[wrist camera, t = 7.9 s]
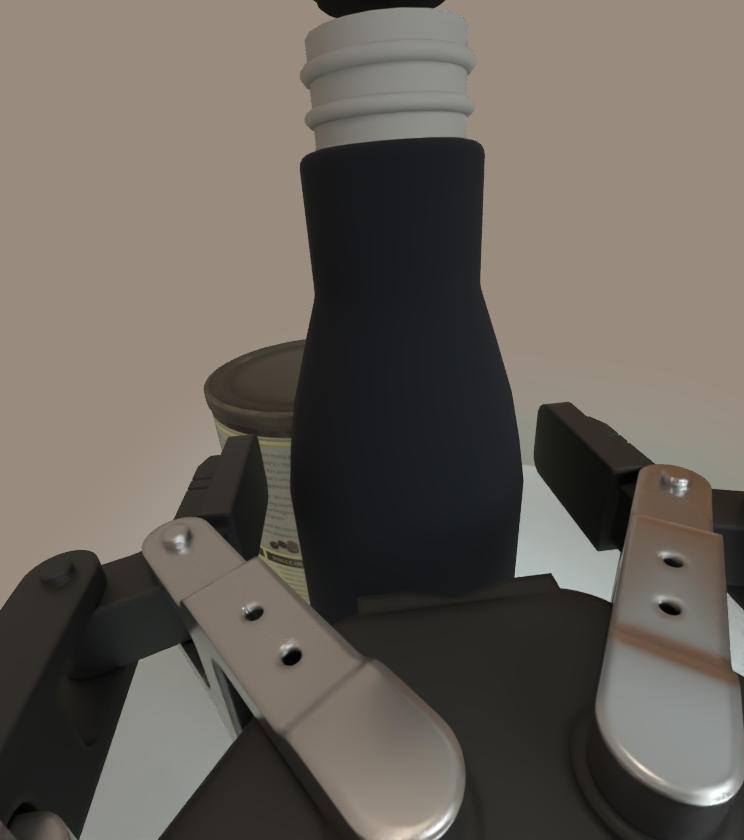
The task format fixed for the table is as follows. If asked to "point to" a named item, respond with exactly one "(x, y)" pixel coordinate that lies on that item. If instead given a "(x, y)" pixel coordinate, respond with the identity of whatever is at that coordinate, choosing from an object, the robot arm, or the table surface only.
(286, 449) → the coffee can
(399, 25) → the dark blue water bottle
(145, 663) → the table surface
